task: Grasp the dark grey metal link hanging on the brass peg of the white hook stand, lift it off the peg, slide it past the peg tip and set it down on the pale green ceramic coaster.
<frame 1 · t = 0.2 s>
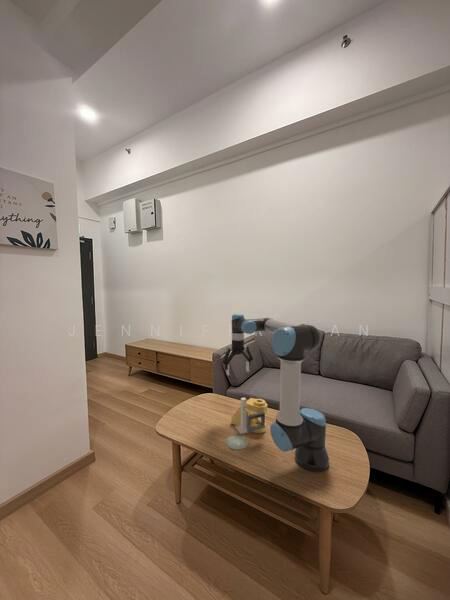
hand: (237, 373, 152), 28 cm above the table, fingers open, 13 cm apart
clamp: (249, 426, 144), on the table, touching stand
coaster: (237, 442, 128), on the table
link: (255, 429, 128), point 7 cm above the table, touching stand
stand: (243, 429, 140), on the table
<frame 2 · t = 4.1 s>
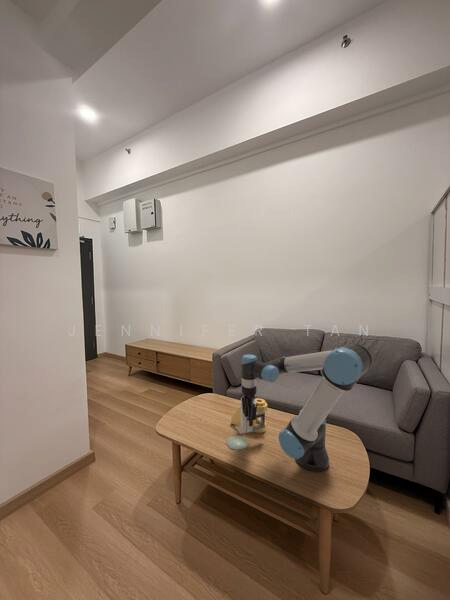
hand: (248, 430, 126), 8 cm above the table, fingers closed on link, 1 cm apart
link: (255, 429, 128), point 7 cm above the table, touching gripper
everything else where it was.
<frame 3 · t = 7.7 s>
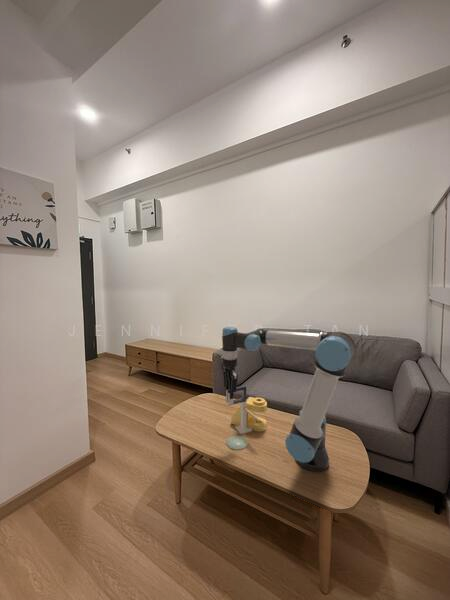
hand: (229, 403, 125), 22 cm above the table, fingers closed on link, 1 cm apart
link: (237, 402, 127), point 22 cm above the table, touching gripper
when the fingers open (3 cm above the table, at t = 10.8 s): link drops 1 cm, resting on coaster.
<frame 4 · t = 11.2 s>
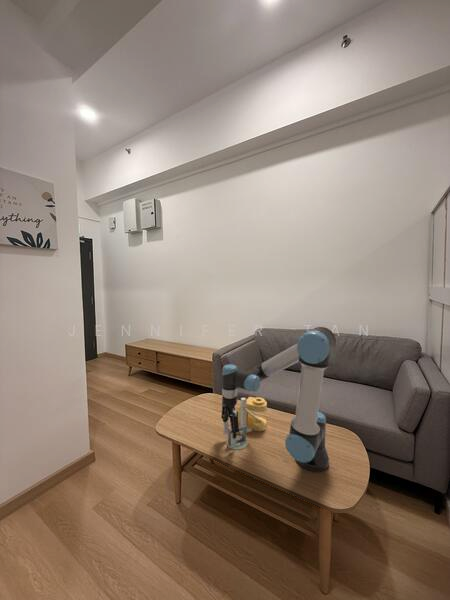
hand: (229, 438, 126), 4 cm above the table, fingers open, 8 cm apart
clamp: (249, 424, 145), on the table, touching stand
link: (236, 441, 128), point 1 cm above the table, tilted 5°, touching coaster
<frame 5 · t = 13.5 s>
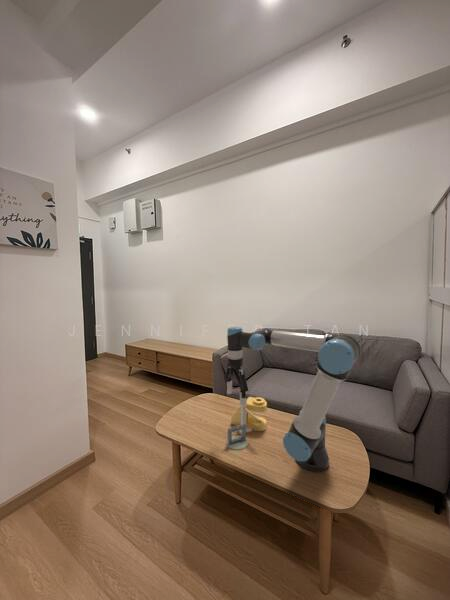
hand: (235, 398, 126), 24 cm above the table, fingers open, 13 cm apart
link: (236, 441, 128), resting on coaster
everything else where it was.
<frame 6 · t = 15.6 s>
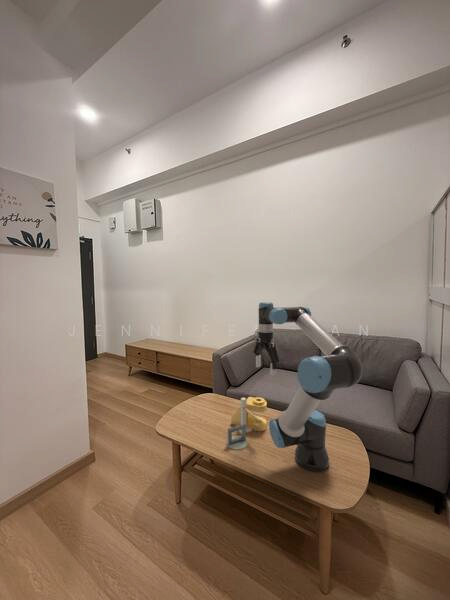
hand: (265, 370, 131), 37 cm above the table, fingers open, 13 cm apart
nothing on the table moved.
at the end: link inside the target area on the coaster (0.1 cm from its centre), point 0.5 cm above the coaster's base; link touching coaster; the gripper is holding nothing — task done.
